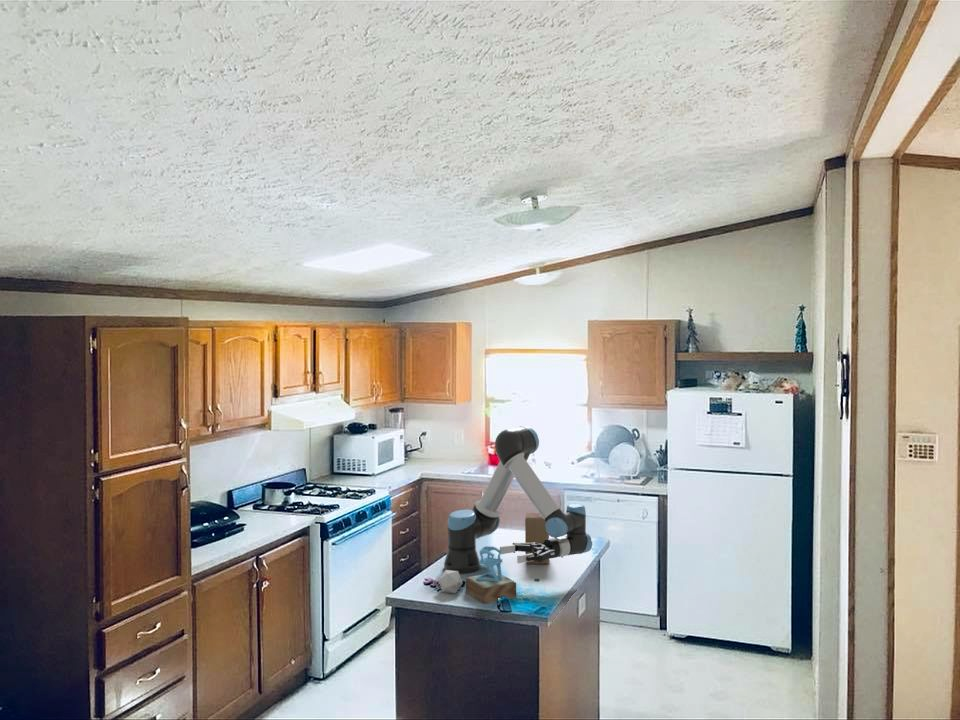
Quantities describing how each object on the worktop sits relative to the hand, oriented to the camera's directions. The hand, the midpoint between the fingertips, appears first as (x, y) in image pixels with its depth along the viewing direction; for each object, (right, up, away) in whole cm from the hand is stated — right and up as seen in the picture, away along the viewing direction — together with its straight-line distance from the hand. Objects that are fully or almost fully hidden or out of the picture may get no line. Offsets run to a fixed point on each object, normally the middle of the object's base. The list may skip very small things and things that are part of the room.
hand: (508, 555), depth 290 cm
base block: (-7, -14, -3) cm, 16 cm away
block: (+14, -13, +40) cm, 45 cm away
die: (-22, -15, +1) cm, 26 cm away
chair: (-7, -8, -3) cm, 11 cm away
